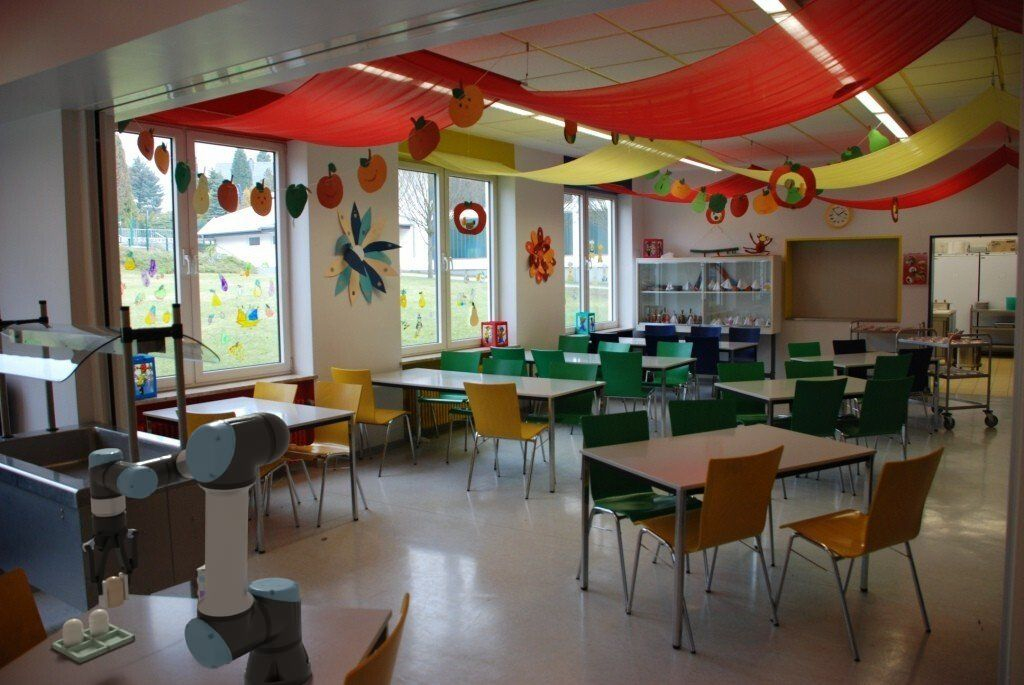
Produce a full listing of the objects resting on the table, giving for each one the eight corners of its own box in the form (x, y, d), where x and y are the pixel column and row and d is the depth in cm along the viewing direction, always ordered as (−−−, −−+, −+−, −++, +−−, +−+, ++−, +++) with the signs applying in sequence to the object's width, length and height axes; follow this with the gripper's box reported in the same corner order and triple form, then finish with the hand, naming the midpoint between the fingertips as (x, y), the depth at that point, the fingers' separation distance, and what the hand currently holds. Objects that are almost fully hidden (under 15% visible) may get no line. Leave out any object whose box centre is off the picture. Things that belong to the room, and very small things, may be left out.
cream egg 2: (113, 633, 205) (111, 608, 204) (95, 640, 201) (93, 615, 200) (103, 629, 207) (102, 604, 206) (86, 636, 203) (84, 610, 203)
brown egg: (127, 602, 195) (126, 576, 194) (109, 609, 191) (108, 582, 190) (118, 597, 197) (116, 571, 197) (99, 604, 194) (98, 577, 193)
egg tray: (135, 641, 201) (134, 635, 201) (80, 665, 190) (79, 658, 190) (106, 627, 209) (105, 621, 209) (51, 649, 198) (51, 642, 197)
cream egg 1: (87, 644, 199) (86, 618, 198) (69, 651, 195) (67, 625, 195) (78, 639, 202) (76, 613, 201) (60, 646, 198) (58, 620, 197)
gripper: (135, 499, 201) (139, 586, 203) (64, 518, 186) (70, 611, 189) (151, 505, 196) (155, 593, 199) (79, 525, 182) (85, 619, 185)
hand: (114, 602), depth 194 cm, fingers closed on brown egg, 4 cm apart
